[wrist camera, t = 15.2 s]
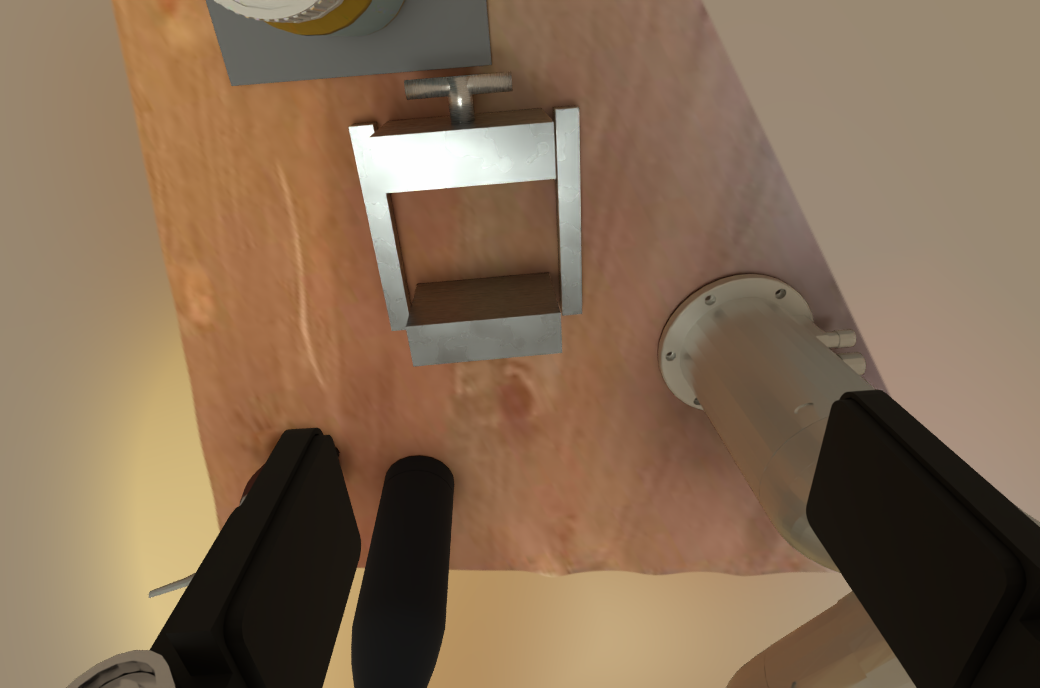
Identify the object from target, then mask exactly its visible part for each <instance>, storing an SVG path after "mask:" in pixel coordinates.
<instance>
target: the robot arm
mask: <svg viewBox="0 0 1040 688" xmlns="http://www.w3.org/2000/svg"><path fill="white" fill-rule="evenodd" d="M707 296H708V297H707ZM706 297H707V298H706ZM855 343H856V335H855V333H854V331H853V330H851V329H846V330H836V331H833V332H824V331H823V330H821V329H820V328H819V327H818V326H816V325H815V324H814V321H813V315H812V312H811V310H810V308H809V306H808V303H807V302H806V301H805V300H804V298H803V297H802V296H801V295H800V294H799V293H798V292H797V291H796V290H794V289H793V288H792V287H791V286H789V285H788V284H786V283H784V282H783V281H781V280H779V279H776V278H773V277H770V276H766V275H758V274H743V275H734V276H731V277H727V278H723V279H720V280H717V281H715V282H713V283H711V284H708V285H706V286H704V287H703V288H701V289H700V290H698V291H697V292H695V293H694V294H692V295H691V296H690V297H689V298H688V299H686V300H685V301H684V302H683V303H682V304H681V305H680V306H679V307H678V308H677V310H676V311H675V312H674V313H673V315H672V316H671V317H670V319H669V321H668V322H667V324H666V326H665V328H664V330H663V333H662V336H661V339H660V342H659V349H658V362H659V368H660V371H661V374H662V377H663V379H664V381H665V382H666V384H667V386H668V388H669V389H670V390H671V391H672V393H673V394H674V395H675V396H676V397H677V398H678V399H680V400H681V401H682V402H684V403H685V404H687V405H689V406H691V407H694V408H696V409H701V410H704V411H705V413H706V414H707V416H708V418H709V419H710V421H711V423H712V424H713V426H714V428H715V429H716V431H717V433H718V434H719V436H720V438H721V439H722V441H723V443H724V444H725V446H726V448H727V449H728V451H729V453H730V454H731V456H732V458H733V459H734V461H735V462H736V464H737V466H738V467H739V469H740V471H741V472H742V474H743V476H744V477H745V479H746V481H747V482H748V484H749V486H750V487H751V489H752V491H753V492H754V494H755V496H756V497H757V499H758V501H759V502H760V504H761V506H762V507H763V509H764V511H765V512H766V514H767V515H768V517H769V519H770V520H771V522H772V524H773V525H774V527H775V528H776V529H777V531H778V532H779V533H780V535H781V536H782V537H783V538H784V539H785V540H786V541H787V542H788V543H789V544H790V545H791V546H792V547H793V548H795V549H796V550H797V551H798V552H800V553H801V554H802V555H804V556H805V557H807V558H809V559H810V560H812V561H814V562H816V563H818V564H820V565H822V566H824V567H826V568H829V569H831V570H834V571H836V572H839V573H841V574H842V576H843V577H844V579H845V580H846V582H847V583H848V585H849V586H850V587H851V589H852V592H850V593H849V594H847V595H846V596H845V597H843V598H842V599H840V600H839V601H838V602H837V604H835V605H833V606H832V607H830V608H829V609H827V610H826V611H824V612H822V613H821V614H820V615H818V616H816V617H815V618H813V619H812V620H810V621H809V622H807V623H805V624H804V625H802V626H801V627H799V628H797V629H796V630H795V631H793V632H791V633H789V634H788V635H786V636H785V637H783V638H782V639H780V640H779V641H777V642H775V643H774V644H772V645H771V646H770V647H768V648H767V649H766V650H764V651H763V652H761V653H759V654H758V655H757V656H755V657H754V658H752V659H751V660H750V661H749V662H747V663H746V664H745V665H743V666H742V667H741V668H740V669H739V670H738V671H737V672H736V673H735V675H734V676H733V677H732V679H731V680H730V681H729V683H728V685H727V687H726V688H1040V522H1039V521H1037V520H1036V519H1034V518H1033V517H1031V516H1030V515H1028V514H1027V513H1025V512H1024V511H1022V510H1021V509H1020V508H1018V507H1017V506H1016V505H1014V504H1013V503H1012V502H1010V501H1009V500H1008V499H1007V498H1006V497H1005V496H1004V495H1003V494H1001V493H1000V492H999V491H998V490H997V489H995V488H994V487H993V486H992V485H991V484H990V483H989V482H987V481H986V480H985V479H984V478H983V477H982V476H981V475H979V474H978V473H977V472H976V471H975V470H974V469H973V468H971V467H970V466H969V465H968V464H967V463H966V462H965V461H963V460H962V459H961V458H960V457H959V456H958V455H956V454H955V453H954V452H953V451H952V450H951V449H949V448H948V447H947V446H946V445H945V444H944V443H943V442H941V441H940V440H939V439H938V438H937V437H936V436H935V435H934V434H932V433H931V432H930V431H929V430H928V429H927V428H925V427H924V426H923V425H922V424H921V423H920V422H918V421H917V420H916V419H915V418H914V417H913V416H912V415H910V414H909V413H908V412H907V411H906V410H905V409H904V408H902V407H901V406H900V405H899V404H898V403H897V402H896V401H894V400H893V399H892V398H891V397H890V396H889V395H888V394H886V393H885V392H883V391H882V390H876V389H874V388H873V387H872V386H871V385H870V384H869V383H868V382H867V381H865V380H864V379H863V378H862V377H861V375H862V374H864V372H865V369H866V362H865V359H864V357H863V356H862V354H861V353H858V352H851V353H841V354H835V353H834V352H833V351H831V350H830V349H829V348H843V347H852V346H854V345H855ZM360 552H361V539H360V534H359V531H358V527H357V523H356V520H355V516H354V513H353V509H352V506H351V502H350V499H349V495H348V491H347V488H346V484H345V481H344V477H343V474H342V470H341V467H340V463H339V459H338V456H337V452H336V449H335V445H334V442H333V439H332V437H331V436H330V435H323V433H322V431H321V430H320V429H319V428H305V429H291V430H286V431H285V432H284V433H283V434H282V436H281V438H280V439H279V441H278V443H277V445H276V446H275V448H274V450H273V451H272V453H271V455H270V456H269V458H268V460H267V462H266V463H265V465H264V467H263V468H262V470H261V472H260V473H259V475H258V477H257V479H256V480H255V482H254V484H253V485H252V487H251V489H250V491H249V492H248V494H247V496H246V497H245V499H244V501H243V502H242V504H241V505H240V506H239V507H237V508H236V509H235V510H234V511H233V512H232V514H231V515H230V516H229V518H228V520H227V521H226V523H225V525H224V526H223V528H222V530H221V531H220V533H219V535H218V537H217V538H216V540H215V541H214V543H213V545H212V547H211V548H210V550H209V552H208V553H207V555H206V557H205V558H204V560H203V562H202V563H201V565H200V567H199V568H198V570H197V572H196V573H195V575H194V577H193V578H192V580H191V582H190V583H189V585H188V587H187V589H186V590H185V592H184V594H183V595H182V597H181V598H180V600H179V602H178V604H177V605H176V607H175V608H174V610H173V612H172V614H171V615H170V617H169V618H168V620H167V622H166V624H165V625H164V627H163V629H162V630H161V632H160V634H159V635H158V637H157V639H156V640H155V642H154V644H153V645H152V647H151V649H150V650H133V651H129V652H126V653H122V654H118V655H115V656H113V657H111V658H109V659H107V660H104V661H102V662H100V663H98V664H96V665H95V666H93V667H92V668H91V669H89V670H87V671H86V672H85V673H83V674H82V675H80V676H79V677H77V678H76V679H75V680H74V681H73V682H72V683H71V684H70V685H69V686H68V687H66V688H322V687H323V683H324V680H325V676H326V673H327V670H328V666H329V663H330V659H331V656H332V652H333V648H334V645H335V642H336V638H337V634H338V631H339V628H340V624H341V621H342V617H343V614H344V610H345V607H346V603H347V600H348V596H349V593H350V589H351V586H352V582H353V579H354V575H355V572H356V568H357V565H358V561H359V558H360Z"/></svg>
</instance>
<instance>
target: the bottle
mask: <svg viewBox="0 0 1040 688" xmlns="http://www.w3.org/2000/svg"><path fill="white" fill-rule="evenodd" d="M214 1H215V2H216V3H218V4H221V5H222V6H224V7H225V8H226V9H228V10H232V11H234V12H235V13H236V14H238V15H244V16H245V17H246V18H252V19H255V20H259V21H264V22H266V23H267V24H269V25H271V26H273V27H275V28H278V29H281V30H284V31H287V32H291V33H294V34H299V35H305V36H364V35H369V34H371V33H374V32H376V31H378V30H381V29H383V28H384V27H386V26H387V25H388V24H389V23H390V22H391V21H392V20H393V19H394V18H395V17H396V16H397V14H398V13H399V11H400V9H401V7H402V5H403V3H404V1H405V0H214Z"/></svg>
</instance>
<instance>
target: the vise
mask: <svg viewBox="0 0 1040 688" xmlns="http://www.w3.org/2000/svg"><path fill="white" fill-rule="evenodd" d="M404 86H405V93H406V97H407V100H411V99H423V98H435V97H447V96H448V102H449V110H450V116H440V117H428V118H416V119H404V120H392V121H387V122H386V123H385V124H384V125H383V126H381V127H380V128H379V129H378V126H377V122H367V123H355V124H352V125H351V126H349V131H350V136H351V141H352V145H353V150H354V155H355V160H356V164H357V169H358V174H359V178H360V183H361V188H362V193H363V197H364V202H365V207H366V211H367V216H368V221H369V225H370V230H371V235H372V240H373V244H374V249H375V254H376V258H377V263H378V268H379V273H380V277H381V282H382V287H383V291H384V296H385V301H386V305H387V310H388V315H389V320H390V324H391V329H392V331H397V330H407V336H408V341H409V346H410V351H411V356H412V361H413V366H423V365H434V364H445V363H456V362H467V361H478V360H489V359H500V358H511V357H522V356H533V355H543V354H554V353H562V336H561V312H562V315H574V314H582V271H581V201H580V130H579V107H577V106H576V105H573V106H561V107H553V121H552V120H551V118H550V117H549V116H548V115H547V114H546V113H545V112H544V111H543V109H542V108H537V109H524V110H512V111H500V112H488V113H476V114H474V107H473V97H472V94H484V93H496V92H508V91H512V77H511V72H501V73H489V74H477V75H464V76H452V77H440V78H427V79H415V80H405V81H404ZM546 179H555V182H556V209H557V237H558V264H559V292H560V309H561V312H560V309H559V305H558V302H557V298H556V295H555V292H554V288H553V285H552V281H551V278H550V274H549V272H547V273H536V274H525V275H513V276H502V277H491V278H480V279H468V280H457V281H446V282H434V283H423V284H417V287H416V290H415V294H414V298H413V302H412V305H411V302H410V297H409V291H408V286H407V281H406V275H405V270H404V265H403V259H402V254H401V249H400V244H399V238H398V233H397V228H396V222H395V217H394V212H393V206H392V201H391V196H390V193H394V192H406V191H417V190H429V189H441V188H453V187H464V186H476V185H488V184H499V183H511V182H523V181H534V180H546Z"/></svg>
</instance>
